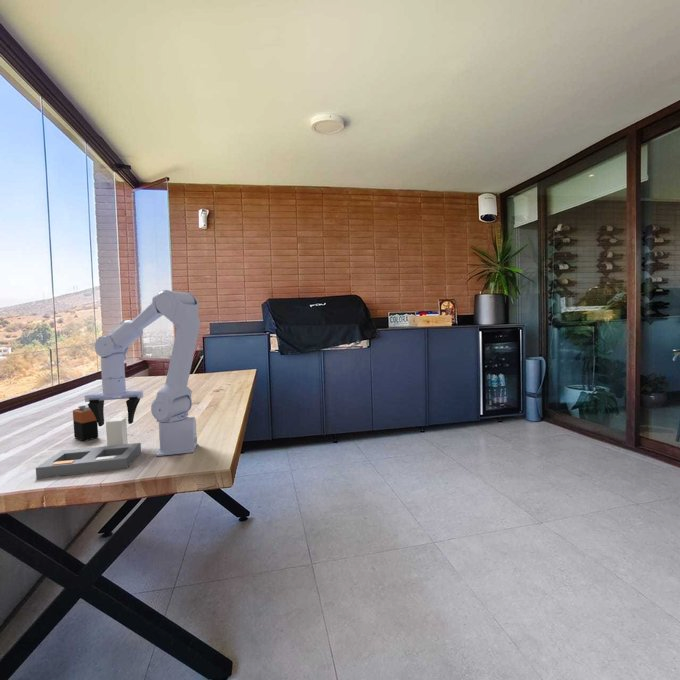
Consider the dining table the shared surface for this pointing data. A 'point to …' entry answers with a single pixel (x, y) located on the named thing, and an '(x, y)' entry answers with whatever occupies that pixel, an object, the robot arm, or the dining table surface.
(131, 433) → the dining table surface
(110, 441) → the plug
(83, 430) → the battery
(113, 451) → the socket block
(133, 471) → the dining table surface
